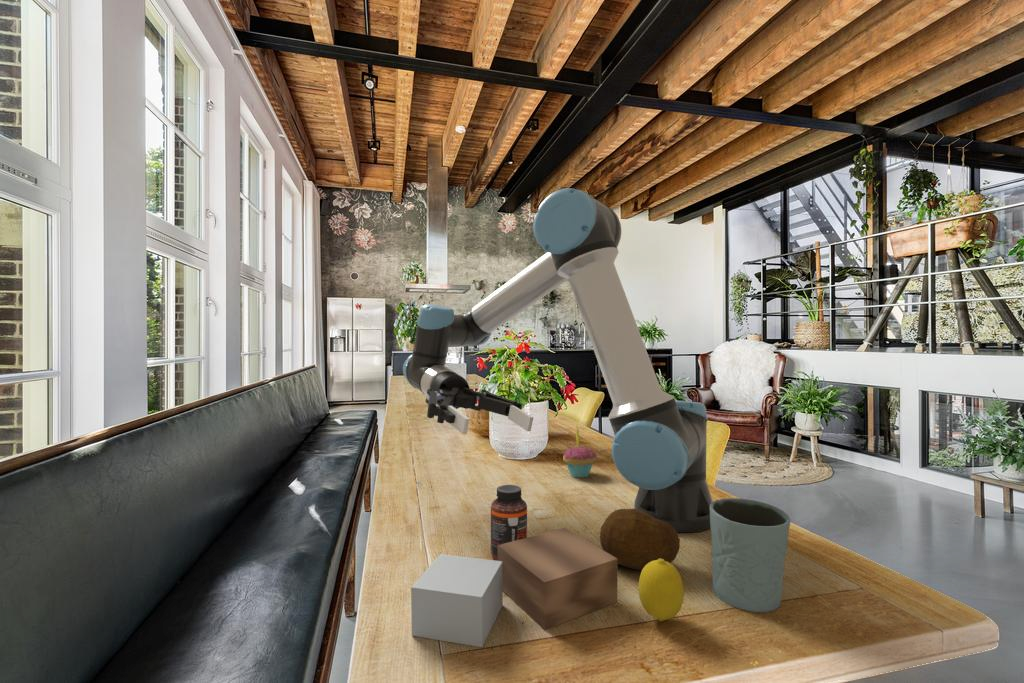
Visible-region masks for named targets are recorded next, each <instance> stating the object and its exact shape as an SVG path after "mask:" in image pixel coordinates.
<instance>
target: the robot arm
mask: <svg viewBox="0 0 1024 683" xmlns="http://www.w3.org/2000/svg"><path fill="white" fill-rule="evenodd" d="M618 216H619V215H617V213H616V212H615V211H614V210H613V209H612V208H611V207H610V206H608V205H607V204H604V203H602V202H600V201H599V200H597V199H595V198H594V197H593V196H591V195H590V194H589V193H587V192H586V191H584V190H581V189H580V190H579V189H575V188H570V187H569V188H568V187H567V188H561V189H557V190H556V191H553V192H552V193H550V194H549V195H547V197H545V199H543V200H542V201H541V203H540V205H539V206H538V209H537V211H536V213H535V215H534V219H533V224H532V230H533V236H534V239H535V240H536V242H537V244H538V245H539V246H540V247H541V249H542V250H544V251H545V253H544V254H542V256H540V257H539V258H537V259H536V260H535V261H533V262H531V264H529V265H527V267H525V268H524V269H522V271H520V272H519V273H517V274H516V275H514V276H513V277H511V279H509V280H508V281H507V282H505V283H504V284H502V285H501V286H500V287H498V288H497V289H496V290H495V291H493V292H491V293H490V294H489V295H488V296H486V297H485V298H484V299H482V300H481V301H480V302H478V303H477V304H476V305H474V306H473V307H472V308H470V309H469V310H467V311H466V312H465V313H463V314H455V310H454V309H453V308H451V307H448V306H444V305H439V304H432V303H426V304H423V305H422V306H421V307H420V311H419V315H418V319H417V321H416V323H417V324H416V325H417V326H416V329H415V330H416V332H415V337H414V338H415V339H414V343H413V344H414V345H413V350H412V353H411V354H410V355H409V356H408V357H407V359H406V360H405V361H404V363H403V365H402V373H403V377H404V379H406V381H407V382H408V384H410V386H412V387H413V388H415V389H416V390H418V391H419V392H420V393H422V394H423V395H425V401H424V402H425V403H426V404H427V411H426V412H427V413H426V418H429V419H434V417H437V419H436V422H437V423H438V424H444V422H446V423H448V424H449V425H451V426H452V427H453V428H454V429H456V430H457V431H458V432H459V433H461V435H467V434H468V430H469V425H470V418H469V417H468V416H466V415H465V414H464V413H463V412H461V411H460V410H459V408H460V409H461V408H462V409H465V410H467V409H469V410H470V409H471V410H473V411H477V412H478V411H479V412H480V411H482V410H483V411H485V412H490V413H494V414H497V415H502V416H505V417H507V419H508V420H509V421H511V422H513V424H515V425H517V426H519V427H520V428H522V430H524V431H526V432H531V431H532V426H533V422H534V418H535V417H534V416H532V415H531V414H529V413H527V412H526V411H524V410H522V408H523V403H521V402H519V401H517V400H512V399H509V398H507V397H504V396H500V395H498V394H495V393H492V392H490V391H488V390H486V389H482V390H481V392H480V391H476V390H474V389H473V388H471V387H470V386H469V385H470V384H469V383H468V381H467V379H466V378H465V377H463V376H461V375H460V374H459V373H456V372H455V371H453V370H452V369H450V368H448V367H447V366H445V365H446V360H447V356H448V350H449V348H457V347H476V346H480V345H484V344H486V343H487V342H488V341H489V339H490V337H491V335H492V333H494V332H495V331H496V330H497V329H499V328H500V327H502V326H503V325H505V324H506V323H508V322H509V321H510V320H512V319H514V318H516V316H517V315H519V314H521V313H522V312H524V311H525V310H527V309H528V308H530V307H531V306H533V304H535V303H537V302H538V301H540V300H542V299H543V298H544V297H545V296H547V295H549V294H550V293H551V292H553V291H555V290H556V289H558V287H560V286H562V285H563V284H564V283H566V282H568V283H569V284H570V288H571V290H572V293H573V295H574V298H575V302H576V304H577V307H578V310H579V312H580V315H581V318H582V321H583V323H584V327H585V330H586V332H587V334H588V335H587V336H588V338H589V340H590V342H591V346H592V350H593V352H594V355H595V358H596V360H597V363H598V366H599V368H600V369H599V370H600V371H601V374H602V377H603V379H604V383H605V385H606V388H607V390H608V394H609V397H610V399H611V402H612V409H611V410H610V412H609V414H608V420H609V422H610V425H611V426H610V427H611V429H612V431H613V434H614V439H613V442H612V446H611V455H612V460H613V463H614V465H615V468H616V469H617V471H618V472H619V474H620V475H621V476H622V477H623V478H624V479H625V480H626V481H627V482H628V483H630V484H633V485H634V486H636V487H638V490H637V493H636V497H635V499H634V503H633V505H634V508H633V509H639V510H642V511H644V512H647V513H648V514H650V515H651V516H653V517H654V518H656V519H659V520H661V521H664V522H667V523H669V524H671V525H672V526H673V528H674V529H675V530H676V531H677V533H696V532H702V531H706V530H707V531H708V530H709V529H711V527H710V504H711V503H712V502H714V500H713V498H712V495H711V493H710V490H709V489H710V488H709V486H708V483H707V432H708V431H707V430H708V429H707V425H708V424H707V423H708V421H709V420H708V419H709V418H708V414H707V407H706V405H705V404H704V403H702V402H698V401H689V400H688V401H687V400H676V399H675V397H674V396H673V395H672V394H670V393H668V392H666V391H664V390H663V389H662V388H661V385H660V383H659V380H658V377H657V375H656V373H655V369H654V366H653V364H652V362H651V359H650V356H649V354H648V352H647V348H646V346H645V345H646V344H645V343H644V340H643V338H642V334H641V332H640V329H639V327H638V324H637V321H636V320H635V316H634V313H633V311H632V308H631V306H630V303H629V300H628V297H627V295H626V292H625V290H624V287H623V284H622V280H621V279H620V277H619V274H618V271H617V268H616V266H615V261H616V259H617V256H618V255H619V248H618V247H619V244H620V241H621V237H622V224H621V222H620V219H619V217H618ZM477 401H478V403H477ZM476 404H477V405H476Z"/></svg>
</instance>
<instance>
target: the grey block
mask: <svg viewBox="0 0 1024 683" xmlns="http://www.w3.org/2000/svg"><path fill="white" fill-rule="evenodd" d="M503 593H504V592H503V583H502V561H496V560H494V559H484V558H479V557H478V558H476V557H469V556H459V555H454V554H453V555H451V554H445V553H439V554H438V555H437V557H436V558H435V559H434V560H433V561H432V563H431V564H430V565H429V566H428V567H427V569H425V571H424V572H423V573H422V574H421V575H420V577H418V579H417V580H416V581H415V582H414V583H413V585H412V586H411V588H410V594H411V595H410V596H411V599H410V600H411V603H410V604H411V609H410V610H411V636H412V637H418V638H425V639H430V640H435V641H442V642H448V643H453V644H454V643H455V644H458V645H459V644H460V645H466V646H472V647H478V648H483V646H484V644H485V642H486V640H487V638H488V636H489V634H490V632H491V630H492V628H493V626H494V623H495V622H496V621H497V620H496V619H497V618H498V616H499V614H500V612H501V609H502V608H503V605H504V604H503V603H504V602H503V600H504V599H503Z"/></svg>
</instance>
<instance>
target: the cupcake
mask: <svg viewBox="0 0 1024 683" xmlns="http://www.w3.org/2000/svg"><path fill="white" fill-rule="evenodd" d="M575 427H576V429H575V435H576V436H575V438H576V445H575V446H571V447H569V448H567V449H566V450H565V451H564V452H563V457H562V460H563V461H564V463H565V464H566V465H567V468H568V472H569V474H570V476H571V477H573V478H580V479H581V478H586V477H587V478H588V477H589V476H590V473H591V469H592V466H593V465H594V464H595V463H597V461H598V457H597V456H598V455H597V453H596V452H595V451H594V450H593V449H591V448H589V447H586V446H580V435H579V434H580V433H579V432H580V431H579V429H578V425H576V426H575Z"/></svg>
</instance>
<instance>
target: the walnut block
mask: <svg viewBox="0 0 1024 683" xmlns="http://www.w3.org/2000/svg"><path fill="white" fill-rule="evenodd" d="M497 550H498V561H502V583H503V593H505V595H506V596H508V597H509V598H510V599H511V600H512V601H513V602H514V603H515V604H516V605H517V606H518V607H519V608H520V609H521V610H523V612H525V613H526V614H527V616H529V617H530V618H531V619H532V620H533V621H534V622H535V623H536V624H538V625H539V627H541V629H543V630H544V631H546V630H548V629H551V628H553V627H556V626H559V625H561V624H564V623H566V622H569V621H572V620H574V619H577V618H580V617H582V616H586V615H588V614H590V613H593V612H595V611H597V610H601V609H603V608H605V607H608V606H610V605H613V604H616V603H618V565H619V563H618V559H617V558H616V557H614V556H612V555H610V554H609V553H607V552H605V551H604V550H603V549H602V548H600V547H598V546H597V545H595V544H593V543H592V542H590V541H588V540H587V539H584V538H583V537H582V536H580V535H578V534H576V533H574V532H573V531H571V530H569V529H568V528H566V527H562V528H558V529H554V530H550V531H546V532H543V533H539V534H538V533H537V534H535V535H532V536H527V538H523V539H519V540H516V541H512V542H508V543H504V544H501V545H497Z"/></svg>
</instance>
